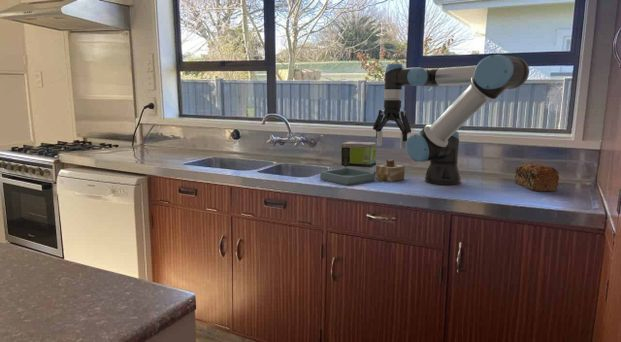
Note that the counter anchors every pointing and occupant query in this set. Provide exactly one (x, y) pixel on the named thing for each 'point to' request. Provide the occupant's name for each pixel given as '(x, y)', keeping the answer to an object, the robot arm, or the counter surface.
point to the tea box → (359, 156)
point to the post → (390, 163)
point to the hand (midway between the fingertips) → (390, 147)
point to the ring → (390, 172)
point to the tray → (347, 176)
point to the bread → (537, 177)
